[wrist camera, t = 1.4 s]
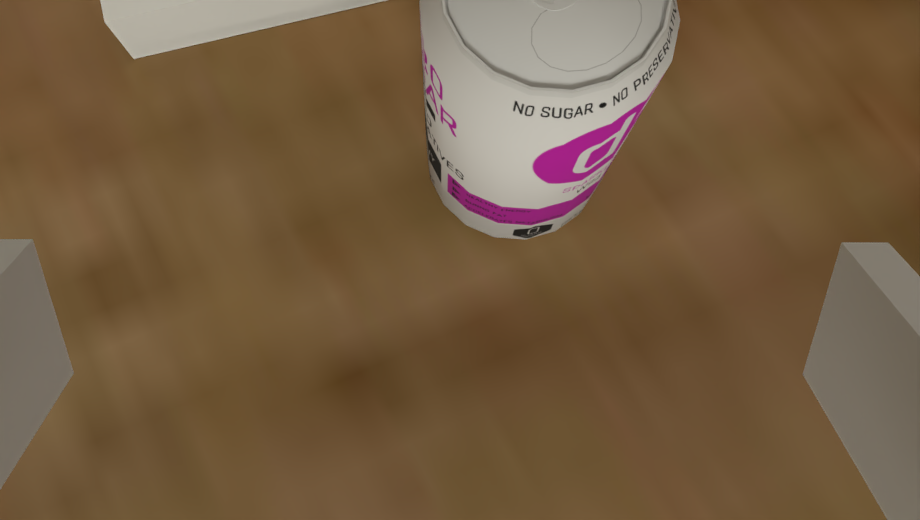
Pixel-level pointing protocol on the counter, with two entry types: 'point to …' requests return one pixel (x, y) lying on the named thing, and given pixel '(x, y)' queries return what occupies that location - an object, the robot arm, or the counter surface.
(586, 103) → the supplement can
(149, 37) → the tray
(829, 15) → the counter surface
